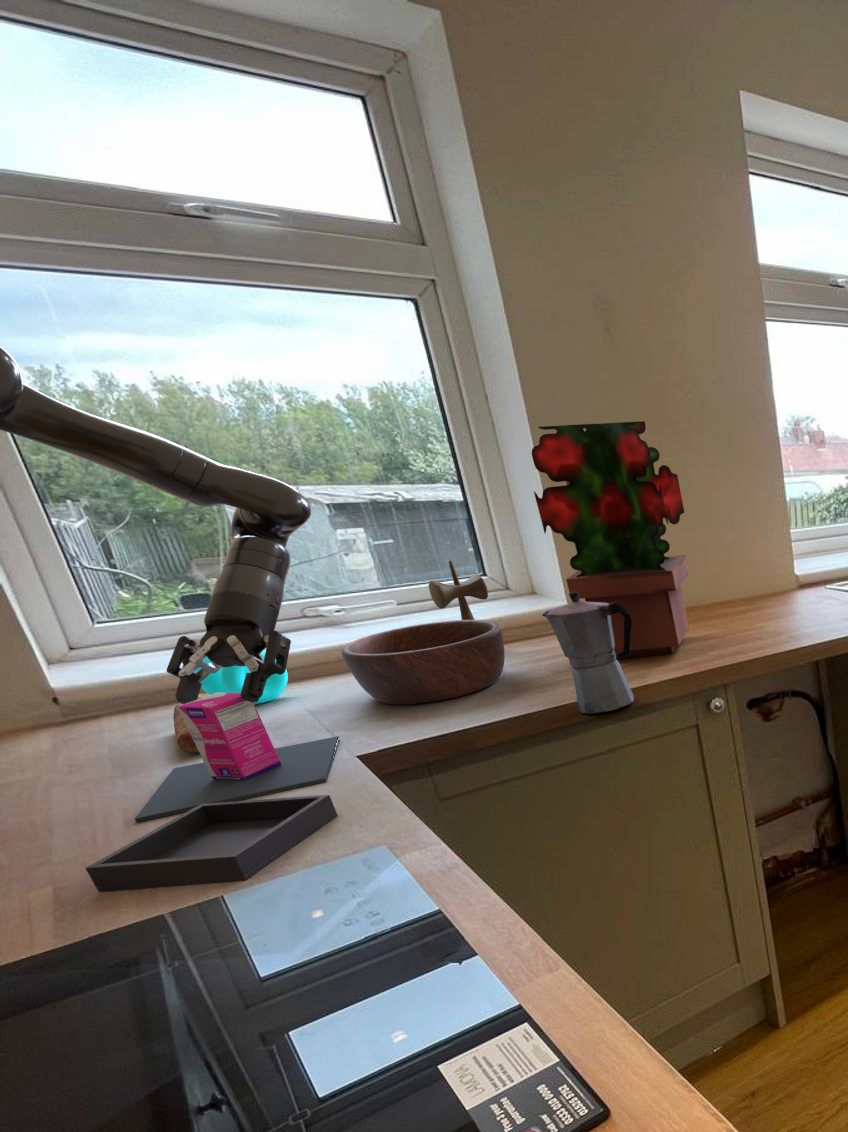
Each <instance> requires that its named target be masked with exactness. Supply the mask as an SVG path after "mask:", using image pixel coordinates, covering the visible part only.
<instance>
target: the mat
mask: <svg viewBox="0 0 848 1132" xmlns="http://www.w3.org/2000/svg"><path fill="white" fill-rule="evenodd" d="M338 738H339V739H340V737H339V736H332V737H327V738H326V737H325V738H321V739H316V740H311V741H307V742H301V743H296V744H290V745H286V746H280V747H274V749H275V751H276V753H277V756H278V758H279V760H280V762H281V764H282V765H280V766H278V767H275V768H273V769H270V770H268V771H266V772H263V773H261V774H259V775H257V776H254V777H252V778H250V779H247V780H233V779H213V778H212V777H211V775H210V773H209V771H208V769H207V767H206V765H205V763H204V761H203V762H199V763H194V764H188V765H182V766H178V767H174V768H172V770H171V771H170V772H169V774H168V775H167V776H166V777H165V779H164V780H163V782H162V783H161V784H160V785H159V787H158V788H157V789H156V791H155V792H154V793H153V794H152V796H151V797H150V798H149V800H148V801H146V804H145V805H144V806H143V807H142V808H141V809H140V811H139V812H138V813H137V815H136V816H135V818H134V821H135V822H136V823H141V822H146V821H150V820H155V819H159V818H164V817H169V816H174V815H178V814H184V813H186V812H188V811H189V810H191V809H193V808H195V807H197V806H198V805H200V804H205V803H220V802H234V801H245V800H249V799H253V798H256V797H262V796H266V795H272V794H275V793H280V792H284V791H289V790H294V789H299V788H303V787H308V786H309V787H310V786H313V785H318V784H322V783H326V782H327V780H328V777H329V774H330V770H331V768H332V765H333V762H332V761H334V759H333V756H334V757H335V755H334V752H335V747H336V743H337V740H338ZM335 753H336V752H335Z"/></svg>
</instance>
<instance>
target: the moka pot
mask: <svg viewBox="0 0 848 1132" xmlns="http://www.w3.org/2000/svg"><path fill="white" fill-rule="evenodd" d="M568 596H569V599H570V600H571V602H569V603H567V604H564V605H561V606H558V607H553V608H550V609H548V610H545V611H544V612H543V613H542V614H541V615H542V617H545V618H546V619H547V620H548V622H549V624H550V627H551V628H552V630H553V633H554V635H555V637H556V639H557V641H558V644H559V646H560V648H561V650H562V652H563V654H564V657H566V658H567V659H568V661H569V663H570V664H569V665H570V667H572V679H573V684H574V690H575V695H576V703H577V707H578V711H579V712H580V713H582V714H586V715H592V714H602V713H607V712H612V711H616V710H618V709H621V708H624V707H626V706H628V705H631V704H633V702H634V701H635V696H634V694H633V691H632V689H631V686H630V685H629V683H628V680H627V678H626V676H625V674H624V672H623V669H622V666H621V664H620V661H619V660H617V659H616V657H618V658H619V659H624V658H623V657H627V656H630V646H631V644H630V641H631V629H632V627H631V626H632V620H631V614H630V613H629V612H627V610H626V609H625V608H623V607H621V605H620V604H618V602H613V603H611V604H608V603H602V602H586V601H583V600H581V599H579V592H571V593H569V592H568ZM616 613H621V614H622V615H623V616H624V642H625V643H624V647H623V650H624V651H623V652H617V653H616V654H615V651H614V647H615V642H614V635H613V629H612V623H611V616H610V615H614V614H616Z"/></svg>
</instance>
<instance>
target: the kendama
mask: <svg viewBox="0 0 848 1132" xmlns="http://www.w3.org/2000/svg"><path fill="white" fill-rule="evenodd" d="M448 565H449V569H450V575H451V577H452V580H453V584H446V583H443V582H440V581H437V580H429V582H428V591H429V594H430V597H431V599H432V601H433V604H434V605H435V606H436V607H437V608H438V609H440V610H442V609H443V610H444V609H445V608H446V607H447V606H448V605H449V604H451V602H452V601H454V600H456V599H457V601H458V606H459V611H460V618H461V619H460V620H476V619H475V617H474V615H473V613H472V611H471V608H470V606H469V603H468V601H467V598H466V597H470V598H475V599H478V600H482V601H484V600H487V599H488V598H489V591H488V586H487V583H486V582H485V580H484V578H483V577H482V576H481V574H478V573H477V574H473V575H471V576H469V578H468V579H466V580H465V581H464V582H460V580H459V577H458V574H457V571H456V569H455V566H454V564H453V561H452V560H449V561H448Z"/></svg>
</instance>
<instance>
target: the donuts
mask: <svg viewBox="0 0 848 1132" xmlns="http://www.w3.org/2000/svg"><path fill="white" fill-rule="evenodd" d="M265 652H266V650H263V651H262V652H261V656H262V657H263V659H264V657H265ZM203 661H204V662H206V663H208V664H211V663H213V662H211V661H210V660H209V659H208V658H207V657H205V658H204V659H203ZM275 663H276V660H275ZM201 669H202V667H199V668H197V669H196V670H195V674H196V673H197V672H198V671H200V670H201ZM246 673H251V671H249V669H248V668H247V666H231V667H222V668H221V669H220V670H219V671H218V672H217V673H211V674H210V675H208V676H207V677H206V678H205V679H204V680H203V681H202V682H200V683H202V685H201V689H202V690H203V691H204V692H205V694H210V695H211V694H214V693H241V691H242V687H243V684H244V680H245V677H246ZM288 682H289V675H288V671H287V669H286V670H285V672H284V673H283V674H281V675H279V674H277V673H276V674H274V675H271V677H270V678H269V679H267V680H266V684H265V688H264V691H263V695H262V696H261V698H259V701H258V702H253V703H254V704H257V705H258V704H264V703H268V702H271V701H273V700H275V699H277V698H279V696H281V694H283V692H284V691H285V690H286V688H287V685H288Z"/></svg>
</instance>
